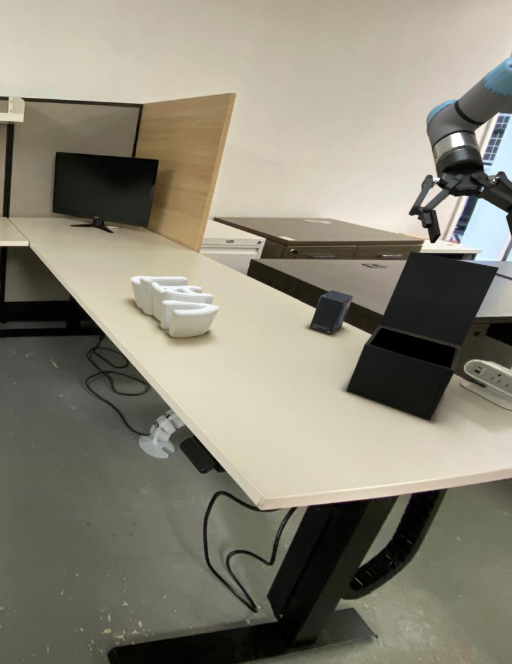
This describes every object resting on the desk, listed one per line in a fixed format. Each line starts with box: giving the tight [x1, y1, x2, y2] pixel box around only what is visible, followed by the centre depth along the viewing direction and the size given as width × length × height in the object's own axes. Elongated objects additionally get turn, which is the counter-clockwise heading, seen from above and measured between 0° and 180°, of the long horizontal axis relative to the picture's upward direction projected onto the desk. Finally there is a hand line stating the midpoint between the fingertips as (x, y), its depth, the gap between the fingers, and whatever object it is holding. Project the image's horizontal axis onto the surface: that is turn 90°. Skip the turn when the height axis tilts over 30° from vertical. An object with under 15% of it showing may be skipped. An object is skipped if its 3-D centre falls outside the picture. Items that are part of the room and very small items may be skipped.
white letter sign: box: [130, 275, 221, 338], centre depth 136 cm, size 35×16×11 cm, turn 11°
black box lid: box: [379, 251, 500, 347], centre depth 105 cm, size 18×16×1 cm
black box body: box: [345, 325, 461, 422], centre depth 104 cm, size 17×16×12 cm
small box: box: [308, 289, 354, 336], centre depth 139 cm, size 11×6×10 cm, turn 134°
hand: (476, 238), depth 93 cm, fingers open, 13 cm apart
